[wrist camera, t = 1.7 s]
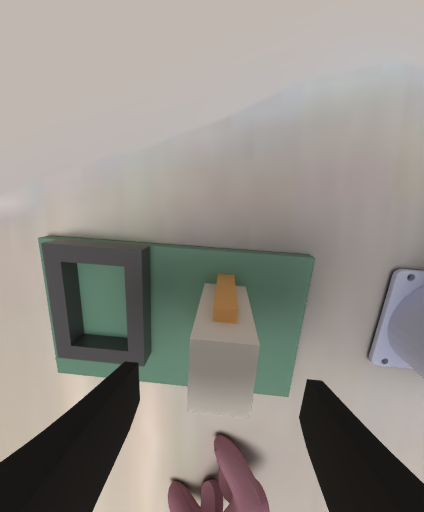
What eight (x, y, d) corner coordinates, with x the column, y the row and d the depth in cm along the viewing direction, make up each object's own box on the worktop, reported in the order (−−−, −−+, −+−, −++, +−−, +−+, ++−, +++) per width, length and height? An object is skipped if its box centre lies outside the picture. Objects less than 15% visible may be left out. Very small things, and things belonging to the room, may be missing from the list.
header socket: (149, 245, 15) (141, 250, 13) (151, 352, 17) (144, 366, 15) (58, 239, 15) (41, 242, 14) (72, 344, 17) (57, 357, 16)
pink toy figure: (198, 479, 24) (218, 587, 18) (163, 486, 22) (173, 613, 16) (249, 428, 22) (291, 534, 16) (216, 430, 19) (251, 556, 13)
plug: (246, 276, 15) (262, 328, 8) (240, 334, 16) (249, 418, 10) (205, 272, 15) (190, 322, 9) (202, 330, 16) (187, 411, 10)
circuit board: (309, 254, 15) (314, 257, 14) (285, 386, 18) (288, 396, 17) (49, 235, 16) (38, 237, 15) (66, 363, 19) (58, 372, 18)
